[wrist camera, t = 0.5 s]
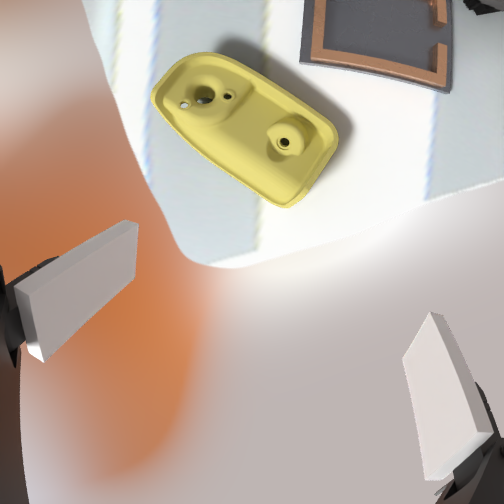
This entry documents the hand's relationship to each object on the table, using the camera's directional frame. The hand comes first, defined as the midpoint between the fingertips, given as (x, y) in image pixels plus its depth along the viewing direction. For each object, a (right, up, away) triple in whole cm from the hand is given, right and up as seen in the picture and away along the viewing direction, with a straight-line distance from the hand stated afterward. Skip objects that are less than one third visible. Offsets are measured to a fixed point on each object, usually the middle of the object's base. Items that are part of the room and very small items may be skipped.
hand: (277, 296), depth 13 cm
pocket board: (+14, +28, +15) cm, 35 cm away
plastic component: (-1, +17, +23) cm, 29 cm away
